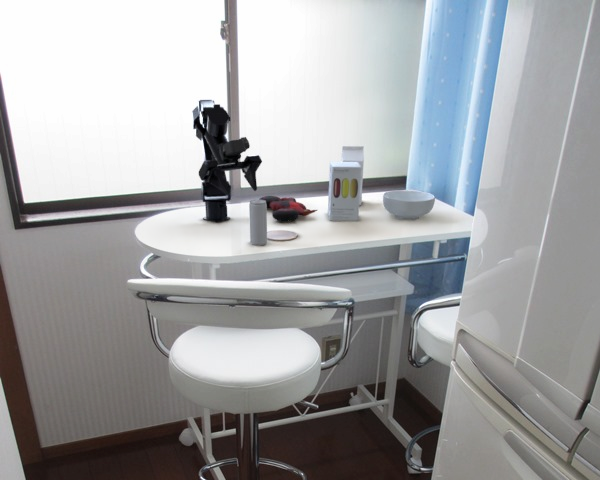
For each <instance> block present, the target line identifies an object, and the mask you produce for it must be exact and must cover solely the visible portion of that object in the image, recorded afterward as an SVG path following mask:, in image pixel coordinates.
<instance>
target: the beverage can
mask: <svg viewBox="0 0 600 480" xmlns="http://www.w3.org/2000/svg"><path fill="white" fill-rule="evenodd" d="M248 207H249V241H250V244H251V245H252V246H256V247H261V246H266V244H267V243H268V239H267V232H268V214H267V213H268V209H267V204H266V201H265V200H259V199H251V200H250V201H249V206H248Z"/></svg>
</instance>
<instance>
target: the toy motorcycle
mask: <svg viewBox="0 0 600 480" xmlns="http://www.w3.org/2000/svg"><path fill="white" fill-rule="evenodd" d="M258 200H265V201H266V204H267V210H272V211H273V212H272V218H273V219H274V220H276V221H277V222H282V223H283V222H284V223H288V222H289V223H290V222H293V221H296V220H298V218H299V217H300V216H301V217H306V216H309V215H311V214H313V213H315V212H317V211H318V209H312V210H311V209H309V208H307V207H306V205H304V203H302V202H299V201H297V200H296V198H294V197H281V198H280V197H278V196H276V195H265V196H262V197H259V199H258Z"/></svg>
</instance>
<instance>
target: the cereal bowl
mask: <svg viewBox="0 0 600 480" xmlns="http://www.w3.org/2000/svg"><path fill="white" fill-rule="evenodd" d="M435 201H436V196H435V195H434V194H432V193H430V192H426V191H421V190H407V189H406V190H390V191H389V190H388V191H385V192H384V193H383V194H382V203H383V207H384V209H385V210H386V211H387V212H388V213H389V214H391V215H393V216H394V217H395V219H399V220H404V221H405V220H406V221H409V220H410V221H413V220H417V219H419V218H420V217H422V216H425V215H428V214H429V213H430V212H431V211H432V210H433V209H434V206H435V203H436V202H435Z"/></svg>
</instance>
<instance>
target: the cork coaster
mask: <svg viewBox="0 0 600 480" xmlns="http://www.w3.org/2000/svg"><path fill="white" fill-rule="evenodd" d="M297 238H298V234H297V233H296V232H295V231H291V230H283V229H282V230H277V229H276V230H270V231H267V241H268V240H269V241H272V242H273V241H275V242H286V241H293V240H295V239H297Z"/></svg>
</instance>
